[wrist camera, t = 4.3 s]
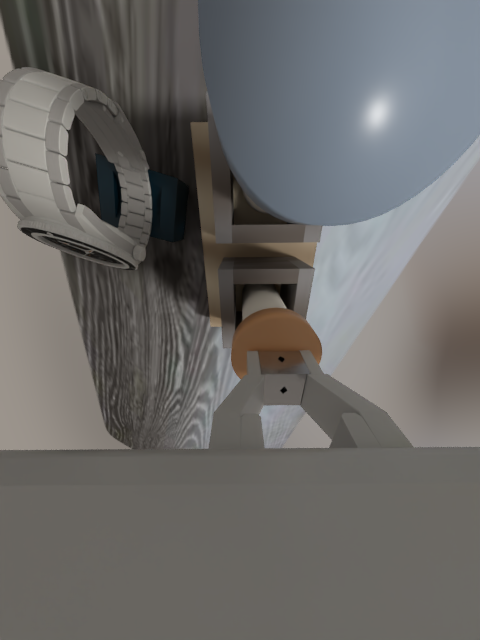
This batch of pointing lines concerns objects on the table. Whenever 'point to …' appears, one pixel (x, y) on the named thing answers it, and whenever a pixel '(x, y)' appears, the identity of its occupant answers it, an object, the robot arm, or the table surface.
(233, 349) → the knob
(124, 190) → the watch
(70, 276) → the table surface
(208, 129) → the mount
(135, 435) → the table surface
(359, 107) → the knob
